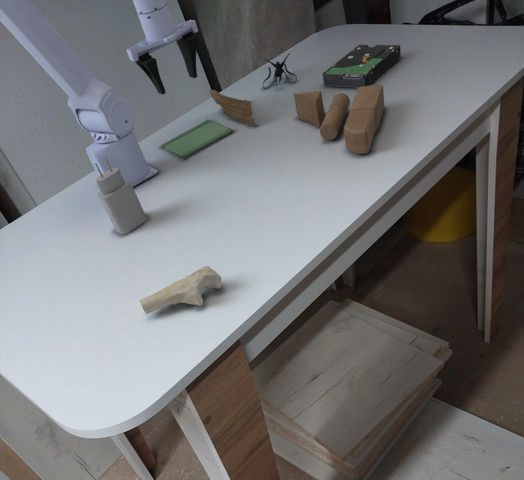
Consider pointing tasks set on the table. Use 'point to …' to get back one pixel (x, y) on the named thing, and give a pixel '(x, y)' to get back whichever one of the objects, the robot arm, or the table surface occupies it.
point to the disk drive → (361, 65)
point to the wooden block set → (358, 122)
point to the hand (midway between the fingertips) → (178, 85)
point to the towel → (196, 139)
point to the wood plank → (235, 107)
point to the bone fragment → (183, 290)
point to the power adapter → (119, 200)
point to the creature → (278, 71)
